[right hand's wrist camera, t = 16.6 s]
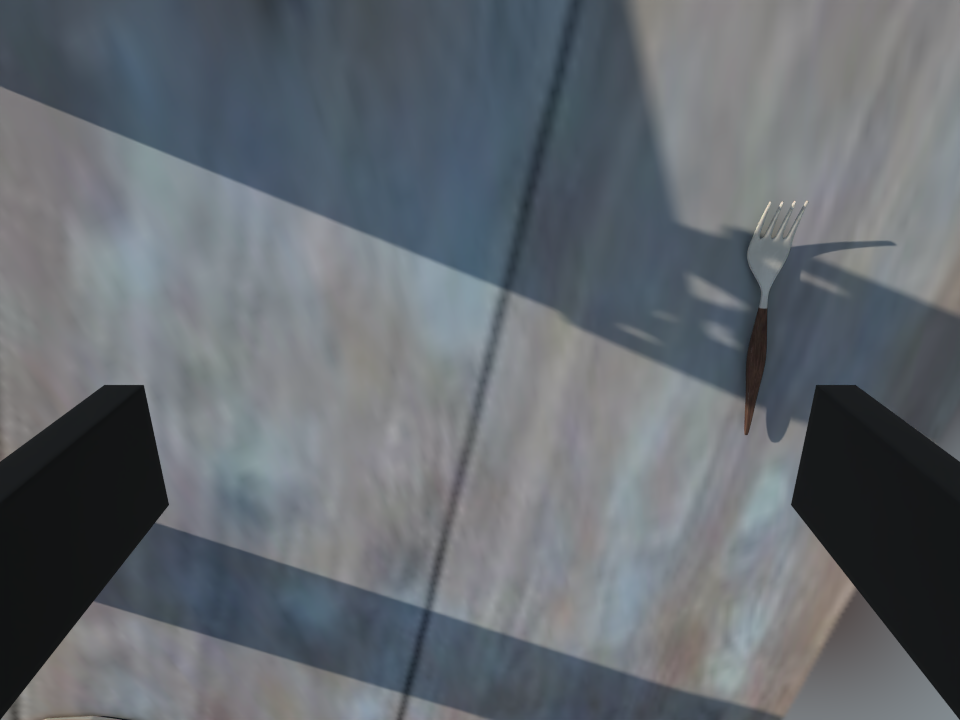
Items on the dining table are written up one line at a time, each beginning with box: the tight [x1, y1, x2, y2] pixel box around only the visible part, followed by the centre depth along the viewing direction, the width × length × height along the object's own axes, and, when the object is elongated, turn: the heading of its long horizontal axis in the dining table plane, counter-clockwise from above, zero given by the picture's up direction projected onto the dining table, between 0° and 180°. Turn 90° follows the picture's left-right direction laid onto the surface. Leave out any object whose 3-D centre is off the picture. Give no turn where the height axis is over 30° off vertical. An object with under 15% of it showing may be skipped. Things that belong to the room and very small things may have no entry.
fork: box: [744, 200, 808, 435], centre depth 41 cm, size 3×16×2 cm, turn 2°
